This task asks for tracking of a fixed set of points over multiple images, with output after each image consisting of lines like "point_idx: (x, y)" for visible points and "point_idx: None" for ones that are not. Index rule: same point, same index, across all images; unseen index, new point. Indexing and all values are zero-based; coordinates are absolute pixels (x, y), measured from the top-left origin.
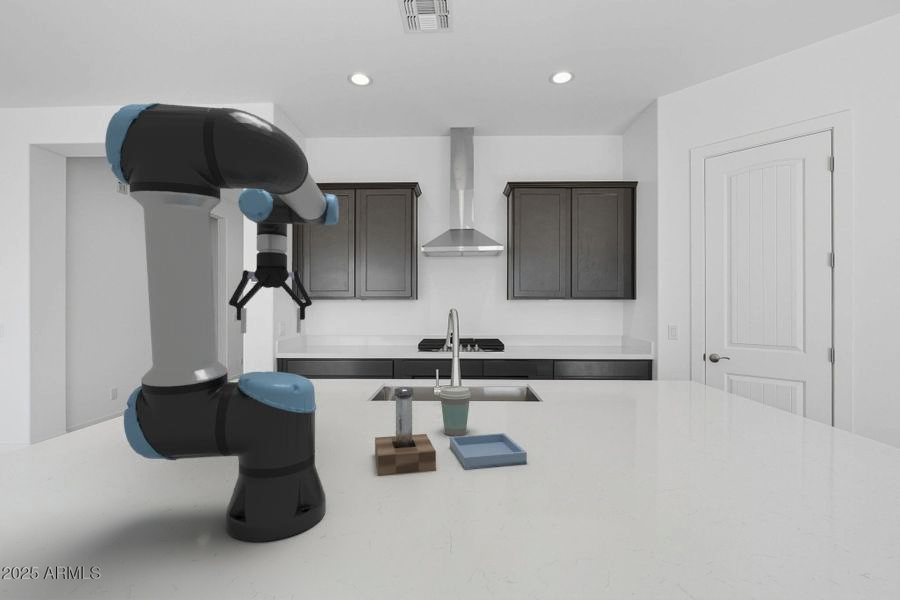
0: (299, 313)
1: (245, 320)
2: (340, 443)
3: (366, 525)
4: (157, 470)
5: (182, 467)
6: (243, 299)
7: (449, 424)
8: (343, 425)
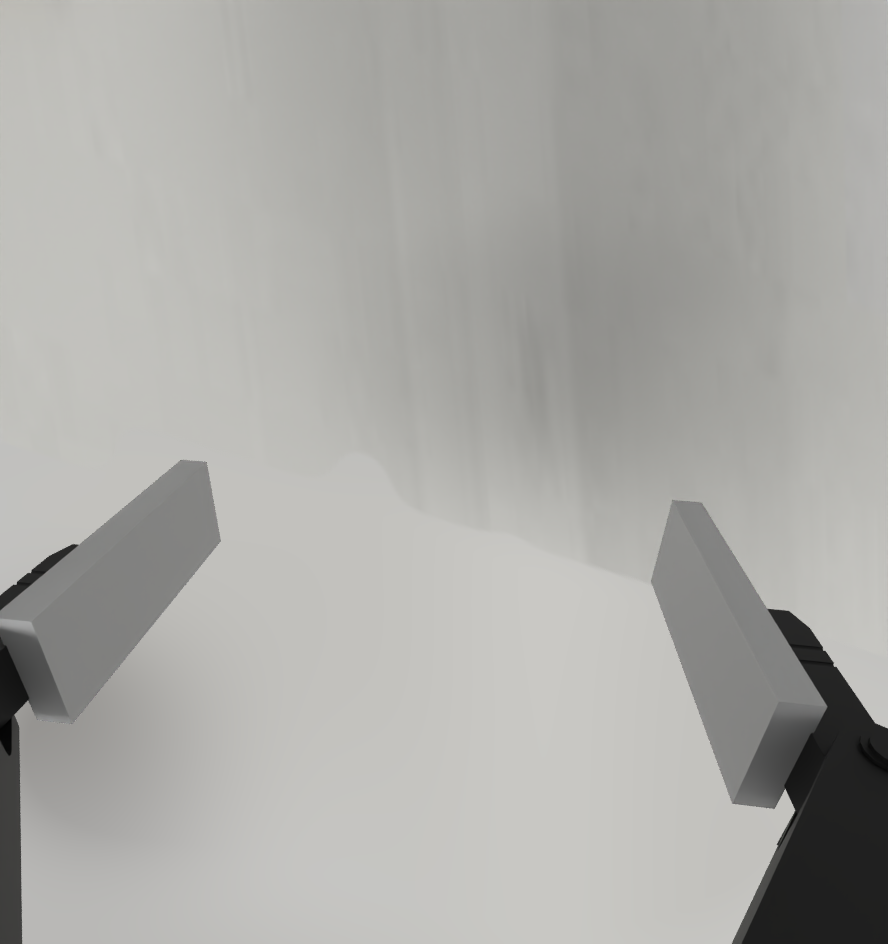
0: (52, 569)
1: (694, 634)
2: (219, 148)
3: None
4: (851, 4)
5: (763, 14)
6: (871, 857)
7: None
8: (238, 378)
